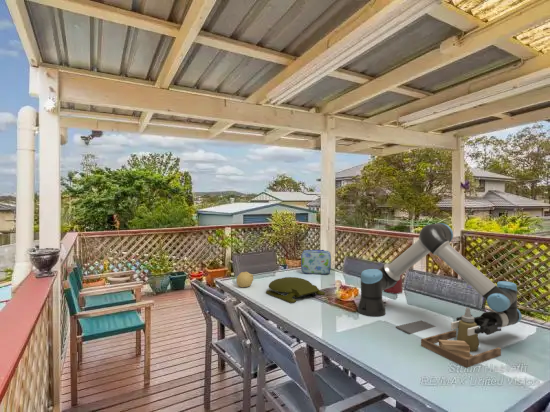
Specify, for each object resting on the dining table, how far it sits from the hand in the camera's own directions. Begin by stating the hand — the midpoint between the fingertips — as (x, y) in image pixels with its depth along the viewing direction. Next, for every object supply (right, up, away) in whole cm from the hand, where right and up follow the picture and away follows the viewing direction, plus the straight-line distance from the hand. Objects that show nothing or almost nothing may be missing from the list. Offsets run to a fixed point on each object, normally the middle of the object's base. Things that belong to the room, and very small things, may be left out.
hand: (460, 329), depth 132 cm
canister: (+5, -9, +90) cm, 91 cm away
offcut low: (-3, -11, -1) cm, 11 cm away
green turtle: (-65, -10, +87) cm, 109 cm away
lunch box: (-41, -8, +146) cm, 152 cm away
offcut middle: (-3, -9, -1) cm, 9 cm away
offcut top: (-4, -7, -2) cm, 8 cm away
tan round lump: (-100, -9, +105) cm, 145 cm away
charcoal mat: (-5, -10, +22) cm, 25 cm away
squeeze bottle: (+5, -10, +2) cm, 11 cm away
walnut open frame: (0, -10, 0) cm, 10 cm away
